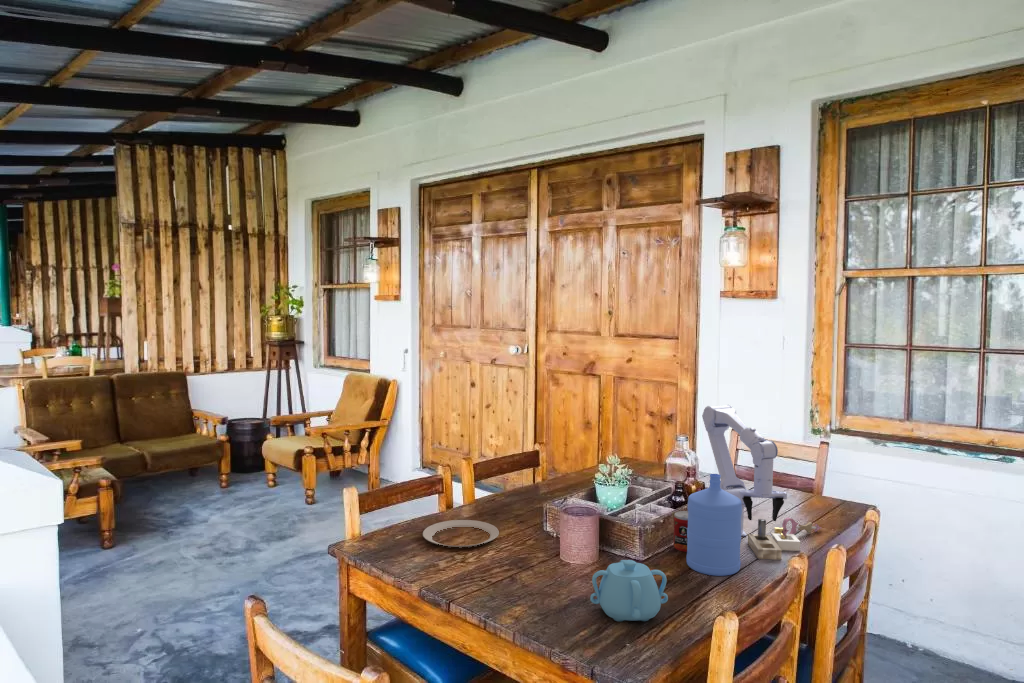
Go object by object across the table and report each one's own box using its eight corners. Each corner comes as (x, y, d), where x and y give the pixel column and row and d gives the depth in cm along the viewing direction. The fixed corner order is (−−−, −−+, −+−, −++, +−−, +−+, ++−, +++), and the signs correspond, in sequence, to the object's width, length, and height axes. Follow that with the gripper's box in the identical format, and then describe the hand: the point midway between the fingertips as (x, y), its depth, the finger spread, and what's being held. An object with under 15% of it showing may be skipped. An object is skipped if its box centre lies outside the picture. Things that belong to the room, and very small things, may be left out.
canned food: (670, 549, 223) (671, 516, 222) (677, 541, 230) (677, 509, 229) (694, 553, 219) (695, 519, 218) (700, 545, 226) (701, 512, 225)
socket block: (777, 549, 223) (777, 540, 222) (764, 533, 239) (765, 524, 238) (799, 550, 222) (800, 541, 222) (785, 533, 238) (786, 525, 238)
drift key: (779, 542, 228) (779, 533, 228) (774, 535, 234) (774, 527, 234) (788, 542, 228) (788, 534, 228) (782, 535, 234) (782, 527, 234)
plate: (464, 557, 216) (464, 551, 215) (406, 540, 231) (406, 534, 231) (514, 535, 236) (514, 529, 236) (457, 520, 251) (457, 515, 251)
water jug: (743, 579, 200) (746, 483, 198) (687, 574, 203) (689, 480, 201) (737, 559, 215) (739, 470, 213) (685, 555, 218) (686, 467, 216)
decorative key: (821, 538, 241) (783, 538, 231) (818, 537, 242) (780, 537, 232) (824, 519, 241) (786, 518, 231) (821, 518, 242) (783, 517, 232)
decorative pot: (625, 594, 189) (626, 545, 189) (674, 614, 177) (674, 562, 176) (584, 611, 179) (584, 560, 178) (632, 634, 167) (633, 579, 166)
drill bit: (758, 548, 224) (759, 521, 224) (756, 545, 226) (757, 518, 226) (765, 548, 224) (766, 521, 223) (764, 546, 226) (765, 519, 226)
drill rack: (758, 558, 215) (758, 549, 215) (747, 542, 229) (748, 533, 229) (781, 559, 214) (781, 550, 214) (769, 543, 228) (769, 534, 228)
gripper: (742, 480, 220) (741, 522, 221) (790, 482, 219) (788, 524, 220) (738, 475, 227) (736, 515, 228) (783, 476, 226) (782, 517, 227)
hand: (762, 519), depth 225 cm, fingers open, 7 cm apart
